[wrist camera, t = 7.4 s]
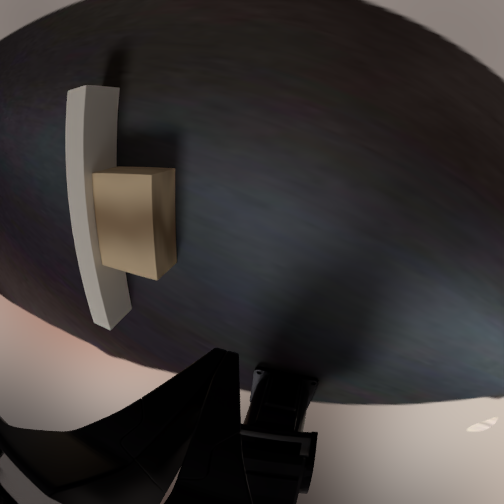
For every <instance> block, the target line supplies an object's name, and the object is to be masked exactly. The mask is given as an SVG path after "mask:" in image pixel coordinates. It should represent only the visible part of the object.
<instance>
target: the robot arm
mask: <svg viewBox="0 0 504 504" xmlns="http://www.w3.org/2000/svg"><path fill="white" fill-rule="evenodd" d="M259 371H260V372H259ZM318 381H319V380H318V379H317V378H313V377H307V376H302V375H296V374H291V373H286V372H281V371H276V370H272V369H267V368H263V367H256V368H255V371H254V376H253V383H252V389H251V396H250V402H251V403H250V406H249V410H248V412H247V415H246V418H245V421H244V424H241V417H240V382H239V354H238V353H235V352H231V351H226V350H224V349H220V348H214V349H213V350H211V351H210V352H208V353H207V354H206V355H204V356H203V357H201V358H200V359H199V360H197V361H196V362H194V363H193V364H191V365H190V366H189V367H187V368H186V369H184V370H183V371H181V372H180V373H178V374H177V375H175V376H174V377H172V378H171V379H170V380H168V381H167V382H165V383H164V384H162V385H160V386H159V387H157V388H156V389H154V390H153V391H151V392H150V393H148V394H147V395H145V396H144V397H142V399H139V400H137V401H136V402H134V403H132V404H131V405H129V406H127V407H125V408H124V409H122V410H120V411H118V412H116V413H114V414H112V415H110V416H108V417H106V418H103V419H101V420H99V421H96V422H94V423H92V424H89V425H87V426H84V427H82V428H79V429H77V430H72V431H65V432H59V431H43V430H32V429H23V428H17V427H13V426H10V425H8V424H7V423H6V422H5V421H4V420H3V419H2V417H0V504H160V502H161V501H162V499H163V497H164V496H165V493H166V492H167V490H168V488H169V487H170V485H171V483H172V482H173V480H174V478H175V476H176V474H177V473H178V471H179V469H180V467H181V469H180V472H179V474H178V477H177V480H176V483H175V485H174V488H173V490H172V492H171V494H170V495H169V497H168V499H167V500H166V501H165V503H164V504H296V502H297V498H298V494H299V493H304V494H307V493H308V490H309V486H310V482H311V478H312V473H313V467H314V460H315V453H316V443H317V435H318V432H312V433H309V432H303V428H304V422H305V416H306V410H307V408H308V406H309V404H310V401H311V399H312V397H313V395H314V393H315V390H316V388H317V386H318Z"/></svg>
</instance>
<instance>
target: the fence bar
mask: <svg viewBox="0 0 504 504" xmlns="http://www.w3.org/2000/svg"><path fill="white" fill-rule="evenodd" d="M119 91H120V88H117V87H106V86H93V85H85V86H82V87H78V88H75V89H72V90H69V91H68V95H67V109H66V174H67V189H68V199H69V209H70V217H71V224H72V231H73V237H74V243H75V248H76V254H77V259H78V264H79V268H80V273H81V277H82V281H83V285H84V289H85V293H86V297H87V301H88V304H89V308H90V311H91V314H92V318H93V321H94V323H96V324H98V325H100V326H102V327H104V328H107V329H109V330H111V329H112V328H113V327H114V326H115V325H116V324H117V323H118V322H119V321H120V320H121V319H122V318H123V317H124V316H125V315H126V314H127V313H128V312H129V311H130V310H131V309H132V306H131V301H130V296H129V290H128V284H127V278H126V272H125V271H121V270H118V269H114V268H111V267H108V266H104V265H102V261H101V255H100V249H99V242H98V235H97V228H96V220H95V210H94V200H93V186H92V173H94V172H98V171H101V170H105V169H109V168H113V167H117V119H118V103H119Z"/></svg>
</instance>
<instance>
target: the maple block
mask: <svg viewBox="0 0 504 504" xmlns="http://www.w3.org/2000/svg"><path fill="white" fill-rule="evenodd" d="M92 186H93V200H94V210H95V220H96V228H97V235H98V242H99V249H100V255H101V261H102V265H104V266H108V267H111V268H114V269H118V270H121V271H125V272H128V273H132V274H135V275H139V276H143V277H146V278H150V279H154V280H158V279H160V278H161V277H162V276H163V275H164V274H165V273H166V272H167V271H168V270H169V269H170V268H171V267H173V266H174V265H175V264H176V263H177V255H176V227H175V168H158V167H123V166H117V167H113V168H109V169H105V170H101V171H98V172H94V173H92Z"/></svg>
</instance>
